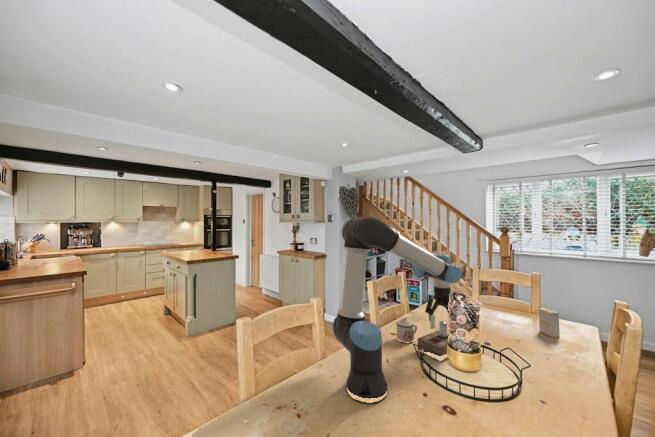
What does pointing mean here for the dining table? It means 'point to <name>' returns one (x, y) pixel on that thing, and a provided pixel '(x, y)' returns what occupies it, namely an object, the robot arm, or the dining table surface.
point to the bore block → (433, 344)
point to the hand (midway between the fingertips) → (443, 331)
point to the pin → (443, 330)
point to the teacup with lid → (405, 330)
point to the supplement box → (549, 322)
